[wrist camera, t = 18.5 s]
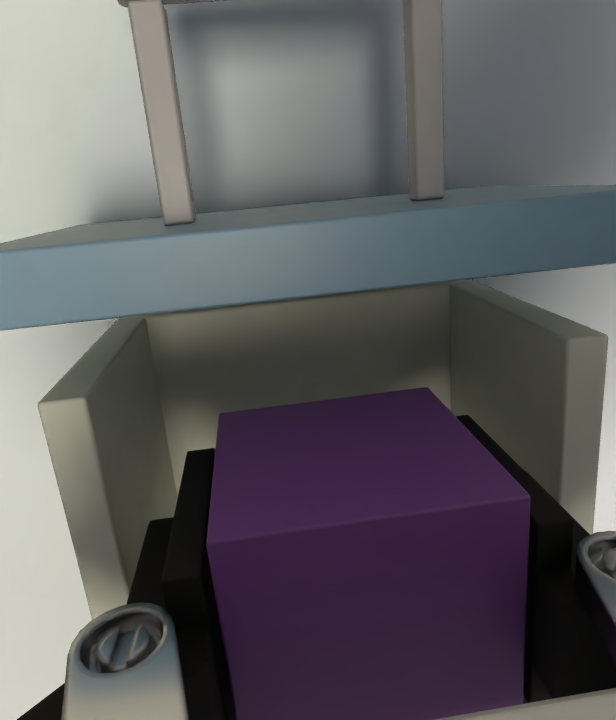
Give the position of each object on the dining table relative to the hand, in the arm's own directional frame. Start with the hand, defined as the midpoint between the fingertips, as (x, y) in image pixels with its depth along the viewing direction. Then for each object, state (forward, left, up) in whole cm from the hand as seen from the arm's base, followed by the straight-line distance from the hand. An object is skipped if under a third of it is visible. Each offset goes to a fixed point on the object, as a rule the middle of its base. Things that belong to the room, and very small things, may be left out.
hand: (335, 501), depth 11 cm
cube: (0, 0, 0) cm, 0 cm away
